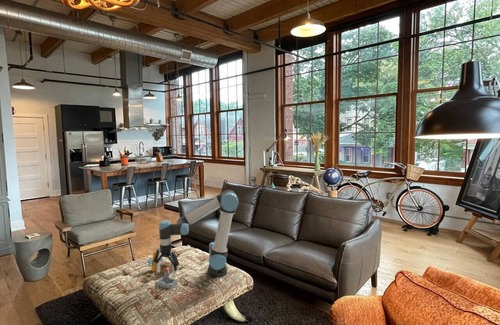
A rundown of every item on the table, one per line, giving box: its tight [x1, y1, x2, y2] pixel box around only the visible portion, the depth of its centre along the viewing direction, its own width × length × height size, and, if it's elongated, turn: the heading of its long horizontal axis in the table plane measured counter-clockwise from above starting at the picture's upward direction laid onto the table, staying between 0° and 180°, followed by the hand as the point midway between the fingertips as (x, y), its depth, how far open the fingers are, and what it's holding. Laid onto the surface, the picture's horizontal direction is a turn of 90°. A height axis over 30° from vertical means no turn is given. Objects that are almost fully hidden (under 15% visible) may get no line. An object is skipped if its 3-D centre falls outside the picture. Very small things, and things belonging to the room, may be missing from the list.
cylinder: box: [147, 249, 164, 273], centre depth 225 cm, size 12×10×15 cm
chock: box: [159, 260, 173, 275], centre depth 221 cm, size 8×5×7 cm, turn 68°
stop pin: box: [163, 267, 170, 284], centre depth 203 cm, size 4×4×11 cm
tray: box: [155, 276, 179, 290], centre depth 203 cm, size 12×8×3 cm, turn 68°
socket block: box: [141, 273, 155, 283], centre depth 211 cm, size 6×6×2 cm
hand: (166, 273), depth 203 cm, fingers open, 13 cm apart
